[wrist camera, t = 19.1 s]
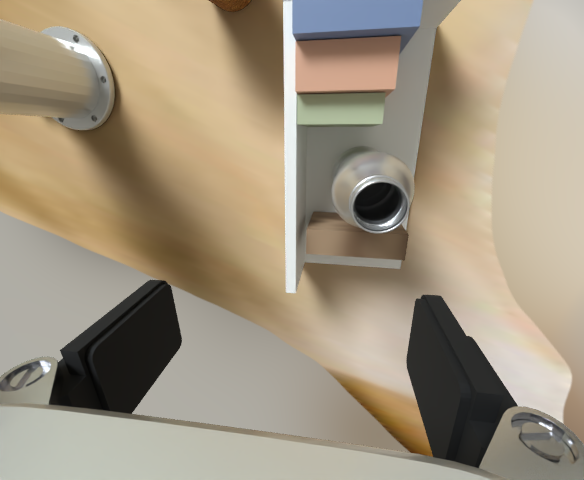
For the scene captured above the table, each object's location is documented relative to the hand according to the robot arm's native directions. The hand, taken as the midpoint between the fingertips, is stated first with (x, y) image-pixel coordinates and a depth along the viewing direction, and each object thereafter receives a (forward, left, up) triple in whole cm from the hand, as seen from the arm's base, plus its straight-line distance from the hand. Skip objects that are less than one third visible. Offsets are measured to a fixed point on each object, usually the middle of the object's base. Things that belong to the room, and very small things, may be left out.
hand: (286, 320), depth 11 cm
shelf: (+3, +3, -31) cm, 31 cm away
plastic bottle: (+4, +2, -30) cm, 30 cm away
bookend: (+4, -5, -29) cm, 30 cm away
